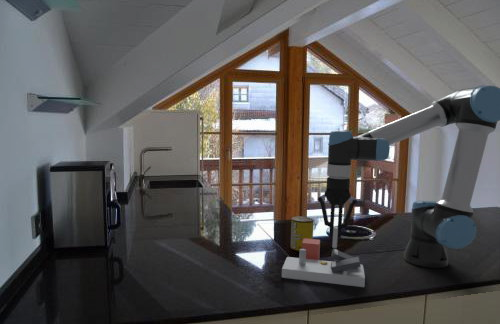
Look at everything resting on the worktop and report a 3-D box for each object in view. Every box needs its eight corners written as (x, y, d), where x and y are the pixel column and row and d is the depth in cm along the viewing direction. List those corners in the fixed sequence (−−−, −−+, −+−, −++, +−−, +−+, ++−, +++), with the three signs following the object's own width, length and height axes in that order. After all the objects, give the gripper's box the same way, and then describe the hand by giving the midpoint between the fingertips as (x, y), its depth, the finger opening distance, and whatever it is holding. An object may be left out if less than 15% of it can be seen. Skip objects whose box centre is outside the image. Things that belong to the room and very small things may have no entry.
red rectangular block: (319, 260, 141) (320, 239, 140) (318, 266, 135) (319, 244, 135) (303, 259, 142) (303, 238, 142) (301, 264, 137) (302, 242, 136)
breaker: (359, 261, 123) (358, 256, 123) (360, 266, 119) (359, 261, 119) (332, 266, 126) (331, 261, 126) (332, 272, 121) (330, 266, 121)
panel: (362, 273, 130) (363, 250, 129) (364, 287, 118) (365, 262, 118) (286, 264, 136) (287, 243, 135) (281, 277, 124) (282, 253, 124)
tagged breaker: (357, 263, 130) (358, 258, 129) (357, 268, 125) (359, 263, 124) (331, 252, 131) (333, 248, 131) (331, 257, 126) (333, 252, 126)
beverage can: (299, 242, 163) (300, 215, 162) (316, 248, 156) (318, 219, 155) (285, 247, 157) (286, 218, 155) (303, 252, 150) (304, 222, 149)
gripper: (358, 177, 128) (354, 245, 130) (319, 174, 131) (315, 241, 133) (359, 179, 121) (355, 252, 123) (317, 177, 124) (314, 247, 126)
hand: (334, 246), depth 128 cm, fingers closed
